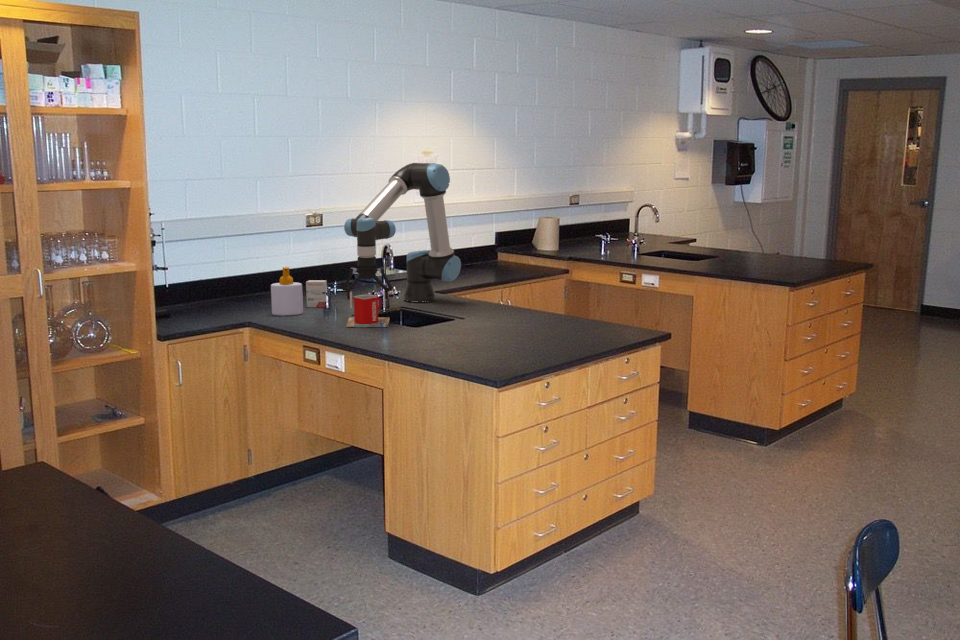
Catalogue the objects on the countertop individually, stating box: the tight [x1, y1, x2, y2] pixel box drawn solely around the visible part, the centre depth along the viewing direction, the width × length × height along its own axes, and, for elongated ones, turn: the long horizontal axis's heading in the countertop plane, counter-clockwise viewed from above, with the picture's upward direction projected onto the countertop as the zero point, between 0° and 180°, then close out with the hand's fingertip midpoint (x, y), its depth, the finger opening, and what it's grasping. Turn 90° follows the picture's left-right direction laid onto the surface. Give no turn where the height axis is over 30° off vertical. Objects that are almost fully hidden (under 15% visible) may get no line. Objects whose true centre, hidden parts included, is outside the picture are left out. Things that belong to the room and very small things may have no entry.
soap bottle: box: [270, 266, 304, 317], centre depth 403 cm, size 13×8×20 cm, turn 102°
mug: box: [352, 294, 382, 324], centre depth 386 cm, size 12×8×11 cm
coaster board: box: [345, 316, 391, 328], centre depth 387 cm, size 17×17×1 cm
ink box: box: [305, 279, 328, 308], centre depth 421 cm, size 9×5×12 cm, turn 84°
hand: (367, 307), depth 386 cm, fingers open, 13 cm apart
